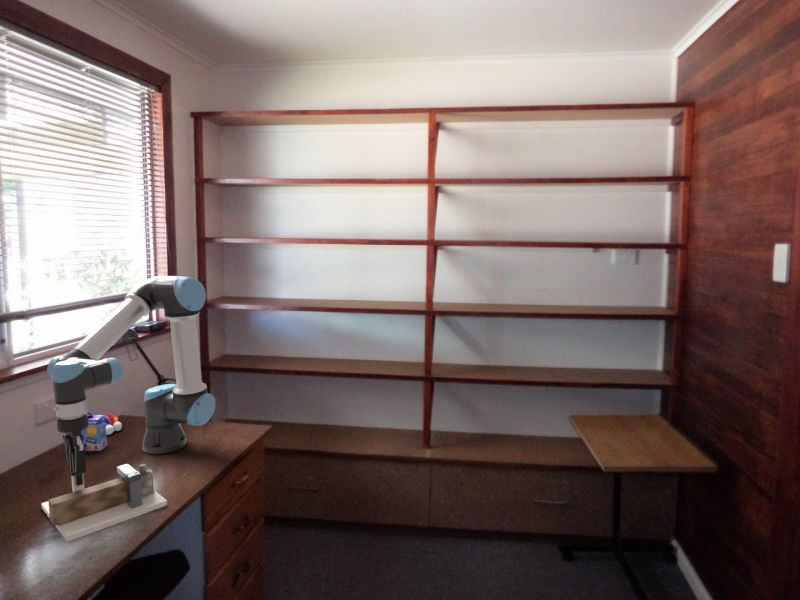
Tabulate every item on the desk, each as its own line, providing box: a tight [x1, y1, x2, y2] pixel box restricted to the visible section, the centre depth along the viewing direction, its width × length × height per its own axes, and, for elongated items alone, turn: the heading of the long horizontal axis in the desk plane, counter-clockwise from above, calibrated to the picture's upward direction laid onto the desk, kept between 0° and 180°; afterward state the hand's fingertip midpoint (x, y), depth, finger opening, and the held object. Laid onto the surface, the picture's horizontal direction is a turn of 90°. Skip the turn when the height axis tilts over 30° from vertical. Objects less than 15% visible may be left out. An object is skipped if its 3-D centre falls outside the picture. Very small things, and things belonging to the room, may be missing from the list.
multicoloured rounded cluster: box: [105, 413, 123, 436], centre depth 216 cm, size 8×10×7 cm
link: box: [47, 463, 155, 527], centre depth 153 cm, size 27×5×8 cm, turn 136°
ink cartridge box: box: [81, 411, 108, 452], centre depth 199 cm, size 10×6×14 cm, turn 95°
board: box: [40, 489, 168, 543], centre depth 157 cm, size 26×25×2 cm
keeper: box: [116, 463, 142, 509], centre depth 157 cm, size 3×10×11 cm, turn 46°
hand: (79, 494), depth 154 cm, fingers closed
